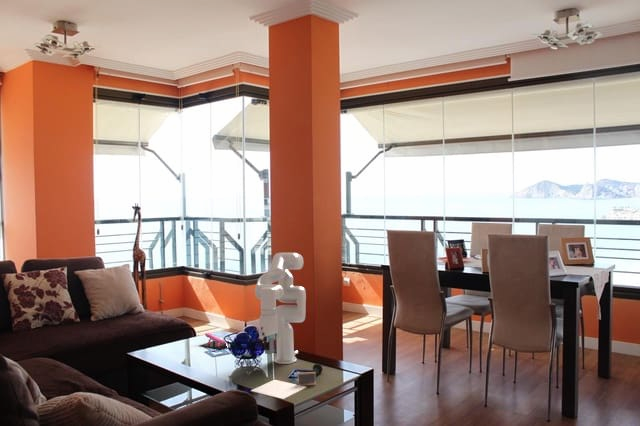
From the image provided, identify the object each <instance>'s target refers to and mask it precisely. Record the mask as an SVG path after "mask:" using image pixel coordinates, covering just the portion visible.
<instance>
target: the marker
mask: <svg viewBox="0 0 640 426" xmlns="http://www.w3.org/2000/svg"><path fill="white" fill-rule="evenodd" d="M265 338H266V337H265ZM268 342H269V350H264V354H265V355H266V354H267V355H272V354H274V353H275V348H274V334H273V335H269V341H268Z"/></svg>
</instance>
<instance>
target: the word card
mask: <svg viewBox="0 0 640 426" xmlns="http://www.w3.org/2000/svg"><path fill="white" fill-rule="evenodd" d="M296 375H297V376H296V377H297V378H296V379H297V383H296V384H297V385H300V386H315V385H317V380H316V378H317V375H316V372H312V371H311V372H310V371H309V372H308V371H307V372H297V374H296Z"/></svg>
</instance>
